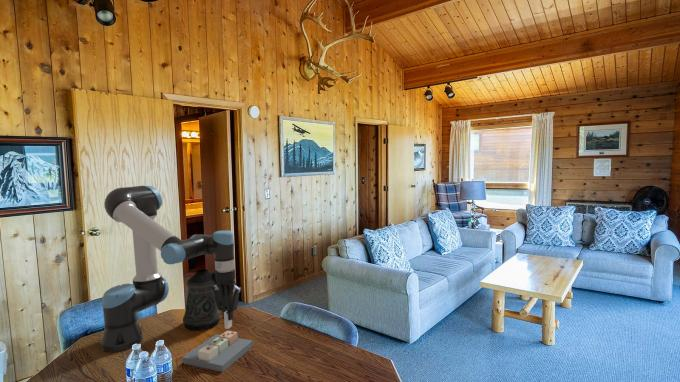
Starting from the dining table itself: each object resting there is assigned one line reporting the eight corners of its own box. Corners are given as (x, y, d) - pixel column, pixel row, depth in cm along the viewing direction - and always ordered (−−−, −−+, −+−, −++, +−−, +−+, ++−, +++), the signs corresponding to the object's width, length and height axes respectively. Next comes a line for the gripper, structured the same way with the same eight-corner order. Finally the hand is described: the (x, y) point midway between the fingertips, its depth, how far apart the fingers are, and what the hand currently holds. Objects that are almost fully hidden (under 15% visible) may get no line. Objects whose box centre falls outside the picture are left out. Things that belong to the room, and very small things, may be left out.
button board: (182, 363, 137) (182, 357, 137) (216, 339, 155) (216, 334, 155) (222, 372, 131) (222, 365, 131) (252, 346, 149) (252, 340, 148)
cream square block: (198, 360, 136) (197, 350, 135) (207, 353, 140) (207, 344, 140) (209, 362, 134) (208, 352, 134) (218, 355, 139) (217, 346, 138)
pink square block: (219, 344, 147) (219, 335, 147) (227, 338, 152) (227, 330, 151) (230, 346, 145) (229, 337, 145) (237, 340, 150) (237, 331, 150)
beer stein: (177, 323, 171) (174, 271, 169) (217, 311, 184) (215, 262, 182) (191, 335, 159) (188, 279, 157) (233, 321, 172) (230, 269, 170)
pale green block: (209, 351, 141) (208, 342, 141) (217, 345, 146) (217, 336, 146) (220, 354, 140) (219, 344, 139) (228, 347, 144) (228, 338, 144)
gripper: (205, 271, 145) (208, 329, 146) (233, 273, 140) (236, 333, 142) (217, 266, 152) (221, 321, 153) (244, 268, 147) (247, 325, 149)
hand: (228, 327), depth 148 cm, fingers closed
